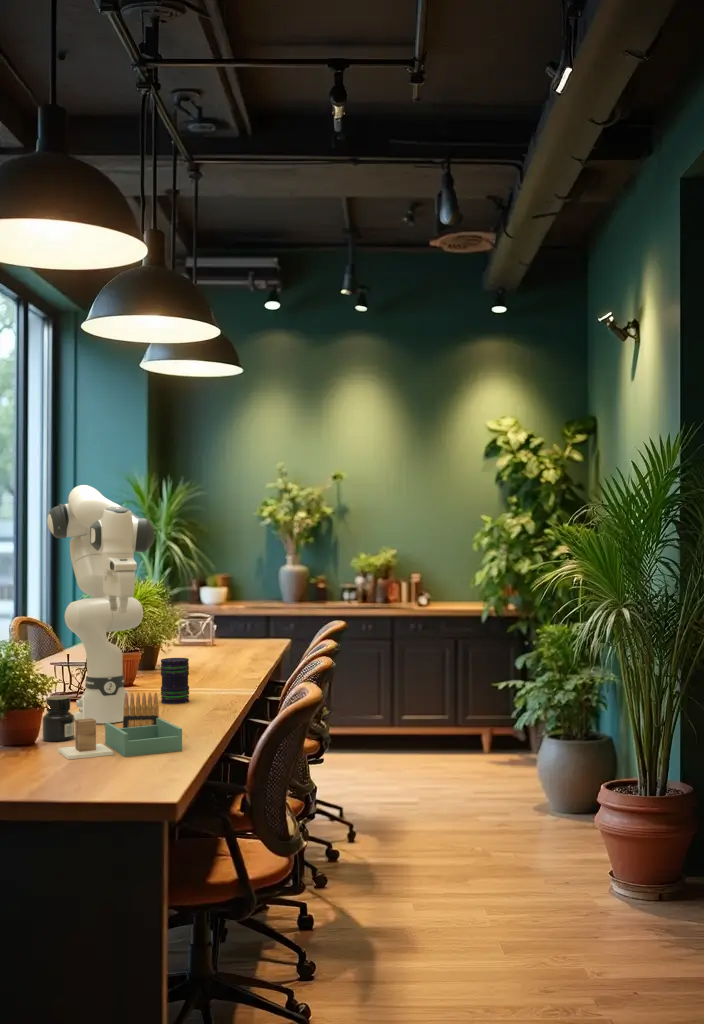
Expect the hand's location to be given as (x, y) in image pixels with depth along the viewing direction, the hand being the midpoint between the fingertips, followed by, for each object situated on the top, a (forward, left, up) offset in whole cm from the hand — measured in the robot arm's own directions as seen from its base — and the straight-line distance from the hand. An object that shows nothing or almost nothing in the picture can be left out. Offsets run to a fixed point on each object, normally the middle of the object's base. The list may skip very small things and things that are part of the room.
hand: (118, 612), depth 311 cm
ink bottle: (-14, -14, -37) cm, 42 cm away
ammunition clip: (-12, +10, -37) cm, 40 cm away
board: (+10, -12, -37) cm, 40 cm away
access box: (+10, +4, -37) cm, 39 cm away
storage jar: (-62, +37, -37) cm, 81 cm away
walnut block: (+10, -12, -36) cm, 39 cm away
